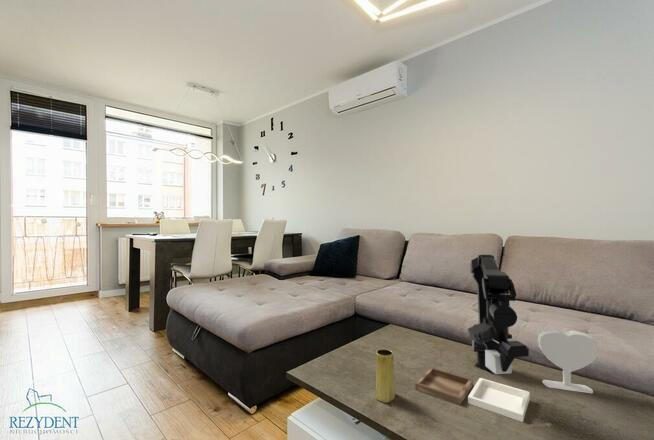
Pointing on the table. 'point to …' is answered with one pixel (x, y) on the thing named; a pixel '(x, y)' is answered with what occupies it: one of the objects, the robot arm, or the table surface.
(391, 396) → the vase
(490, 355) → the stone block
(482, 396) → the cream tray
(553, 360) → the heart sculpture
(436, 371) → the walnut tray
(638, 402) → the table surface
